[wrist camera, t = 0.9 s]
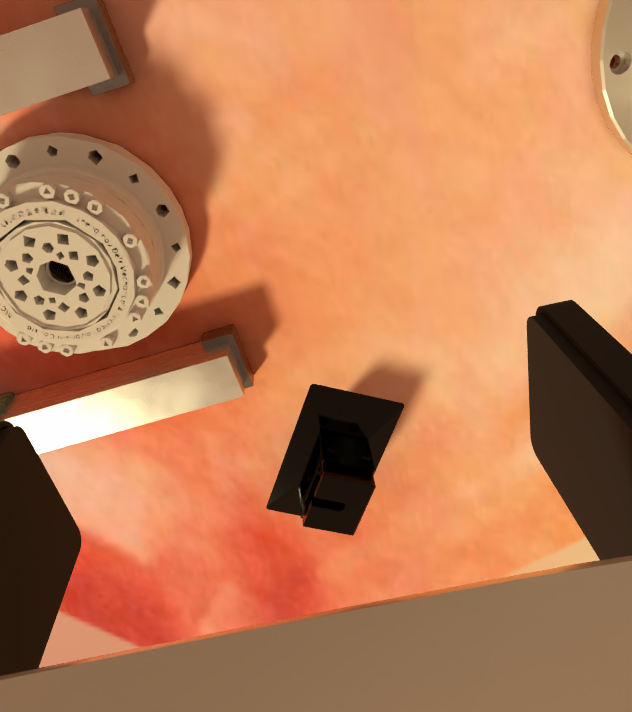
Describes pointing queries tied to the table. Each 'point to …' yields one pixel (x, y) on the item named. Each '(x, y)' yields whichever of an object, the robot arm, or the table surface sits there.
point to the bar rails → (136, 378)
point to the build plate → (334, 458)
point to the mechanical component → (87, 245)
